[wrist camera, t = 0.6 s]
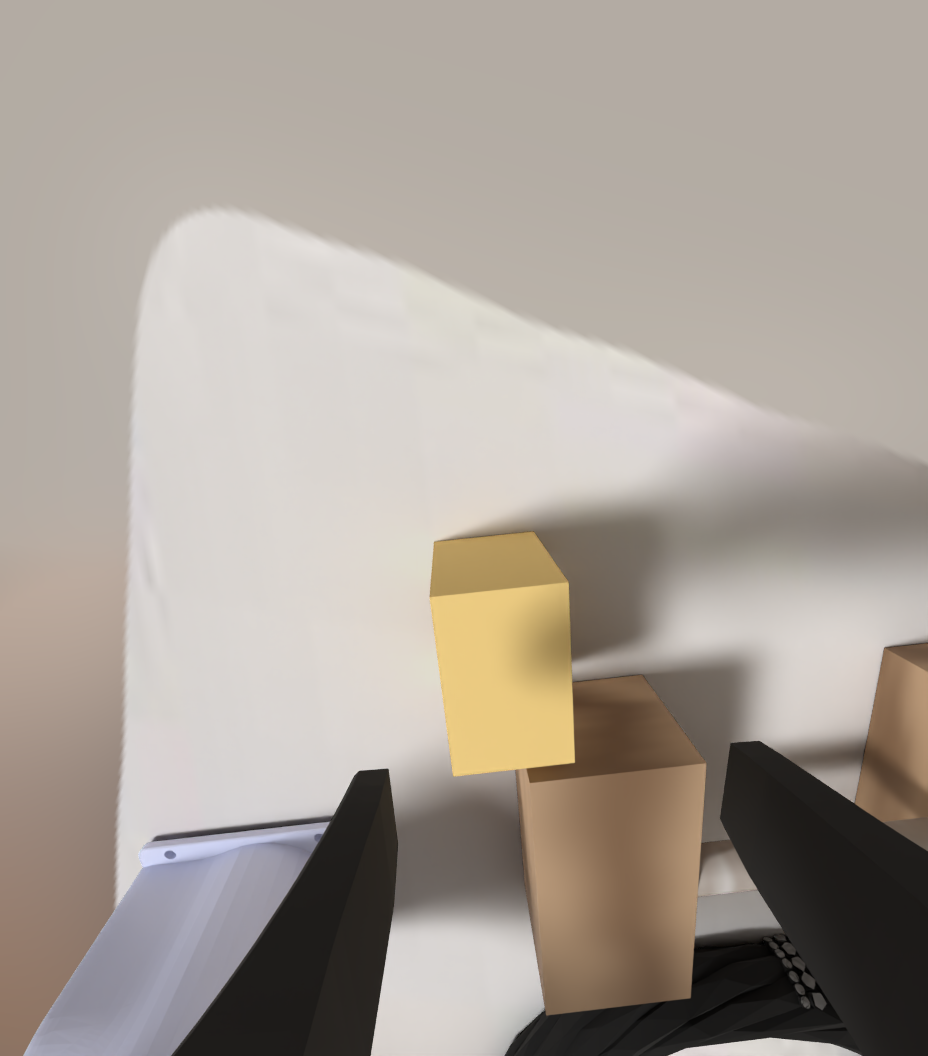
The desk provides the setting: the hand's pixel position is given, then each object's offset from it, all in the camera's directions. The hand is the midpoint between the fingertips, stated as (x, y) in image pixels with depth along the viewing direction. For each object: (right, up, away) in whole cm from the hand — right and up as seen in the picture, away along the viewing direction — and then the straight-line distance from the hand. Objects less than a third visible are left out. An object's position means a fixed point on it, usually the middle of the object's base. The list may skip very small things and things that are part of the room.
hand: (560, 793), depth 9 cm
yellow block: (-1, +2, +9) cm, 10 cm away
